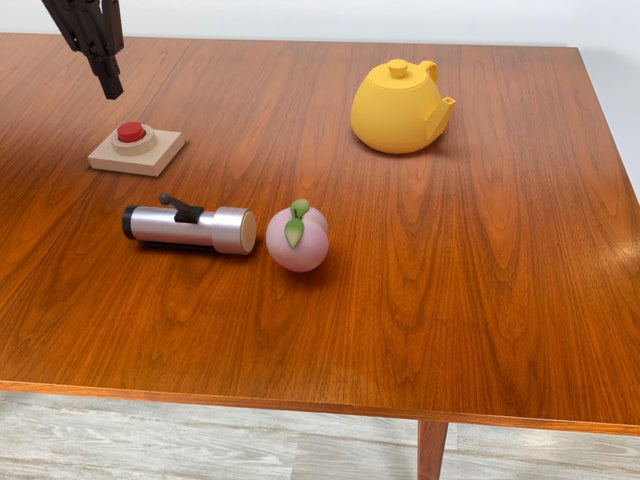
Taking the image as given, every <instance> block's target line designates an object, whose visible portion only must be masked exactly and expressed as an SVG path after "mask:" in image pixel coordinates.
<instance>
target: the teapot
mask: <svg viewBox="0 0 640 480" xmlns="http://www.w3.org/2000/svg"><path fill="white" fill-rule="evenodd" d="M438 79H439V66H438V65H437V64H436V63H435V62H434V61H432V60H423V61H421V62H420V63H419V64H415V63H412V62H409V61H407V60H404V59H401V58H396V59H395V58H394V59H391V60H389V61H388V62H385V63H381V64H379V65H377V66H375V67H373V69H371V70H370V71H369V72H368V74H367V75H366V76H365V78H364V79H363V80H362V82H361V84H360V86H359V88H358V89H357V91H356V93H355V95H354V98H353V101H352V105H351V109H350V127H351V129H352V132H353V133H354V135H355V136H356V137H357V138H358V139H359V140H360V141H361V142H363V143H364V144H365V145H367V146H368V147H369V148H371V149H373V150H375V151H378V152H382V153H387V154H396V155H397V154H399V155H400V154H410V153H415V152H417V151H420V150H423V149H424V148H426V147H428V146H429V145H431V144H432V143H433V142H434V141H435V140H437V138H438V137H440V135H441V134H443V133H444V131H445V129H446V127H447V125H448V123H449V120H450V118H451V116H452V113H453V111H454V109H455V106H456V105H457V101H456V100H455V99H453V98H451V97H449V96H446V97H444V98H443V97H442V94H441V92H440V90H439V88H438V86H437V85H438Z"/></svg>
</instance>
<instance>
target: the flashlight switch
mask: <svg viewBox="0 0 640 480" xmlns="http://www.w3.org/2000/svg"><path fill="white" fill-rule="evenodd" d="M158 202H159V203H160V204H161V206H166V207H168V208H172V209H176V210H178V211H180V212H184V213H190V209H191V206H192V205H191V204H188V203H186V202H184V201H182V200H180V199H178V198H176V197H174V196H172V195H171V194H170V193H168V192H162V193H160V194H159V196H158Z"/></svg>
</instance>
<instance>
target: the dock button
mask: <svg viewBox="0 0 640 480" xmlns="http://www.w3.org/2000/svg"><path fill="white" fill-rule="evenodd" d="M141 124H142V123H140V122H138V121H129V122H124V123H122V124H121V125H120V126H119V125H118V126H119V127H118V126H117V127H118V128H117V127H116V128H117V133H118V135H119V138H120V140H121V142H123V143H131V142H137V141H139V140H141V139H143V138H144V136H145V133H144V130H143V127H142V125H141Z"/></svg>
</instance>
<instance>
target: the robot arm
mask: <svg viewBox="0 0 640 480" xmlns="http://www.w3.org/2000/svg"><path fill="white" fill-rule="evenodd" d="M40 1H41V2H42V4H43V6H44V7H45V9H46V11H47V12H48V14H49V16H50V18H51V20H53V22H54V24H55V26H56V27H57V29H58V31H59V32H60V34H61V35H62V37H63V38H64V40H65V42H66V44H67V45H68V47H69V48H70V50H71V51H72V52H74V53H77V52H79V53H82V55H83V56H84V57H86V59H87V62H88V64H89V67H90V69H91V72H92V74H93V75H94V77H97V78H98V81H99V84H100V86H101V89H102V91H103V94H104V97H105V99H106V100H111V101H115V100H117V99H118V98H119V97H120V96H122V94H124V93H125V90H124V88H123V85H122V82H121V79H120V75H121V69H120V66H119V64H118V60H117V57H116V55H117V54H119V53H120V52H121V51H122V50H123V49H124V48H125V41H124V32H123V26H122V25H123V23H122V16H121V8H120V0H40Z"/></svg>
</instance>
